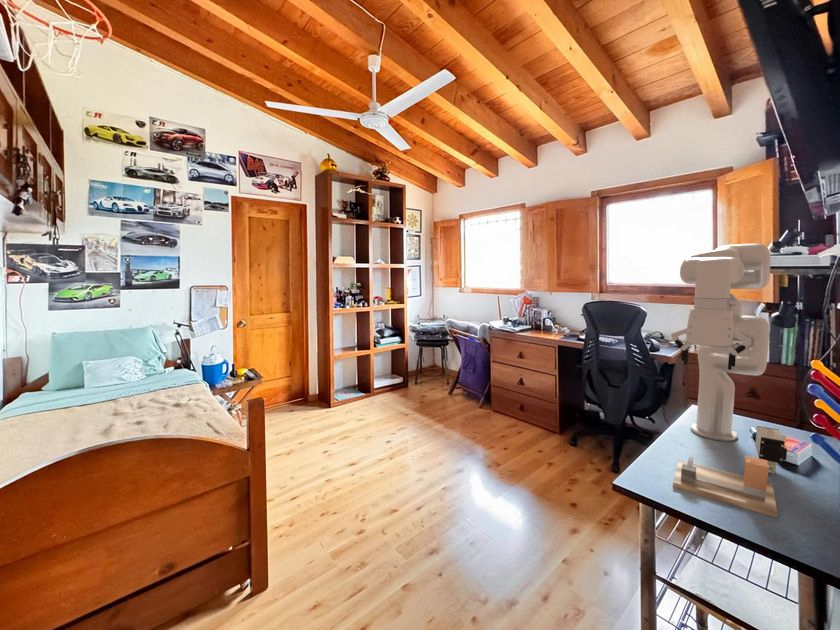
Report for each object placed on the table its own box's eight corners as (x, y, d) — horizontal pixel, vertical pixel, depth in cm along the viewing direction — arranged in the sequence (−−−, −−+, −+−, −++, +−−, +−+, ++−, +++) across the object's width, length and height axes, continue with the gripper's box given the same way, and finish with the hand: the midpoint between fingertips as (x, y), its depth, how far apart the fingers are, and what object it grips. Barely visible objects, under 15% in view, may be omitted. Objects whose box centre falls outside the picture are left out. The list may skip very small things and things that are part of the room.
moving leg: (742, 480, 98) (744, 447, 97) (762, 485, 96) (765, 452, 94) (742, 497, 91) (745, 462, 90) (765, 503, 89) (768, 467, 88)
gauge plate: (678, 464, 110) (679, 448, 109) (771, 489, 97) (773, 470, 97) (672, 487, 99) (673, 469, 99) (776, 517, 87) (778, 497, 86)
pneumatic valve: (758, 477, 103) (762, 435, 101) (753, 458, 112) (756, 420, 110) (786, 483, 99) (790, 440, 98) (778, 464, 109) (782, 424, 107)
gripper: (753, 304, 99) (748, 367, 101) (674, 302, 110) (671, 359, 112) (754, 307, 93) (749, 374, 95) (671, 304, 104) (668, 364, 106)
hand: (707, 366), depth 104 cm, fingers open, 9 cm apart
